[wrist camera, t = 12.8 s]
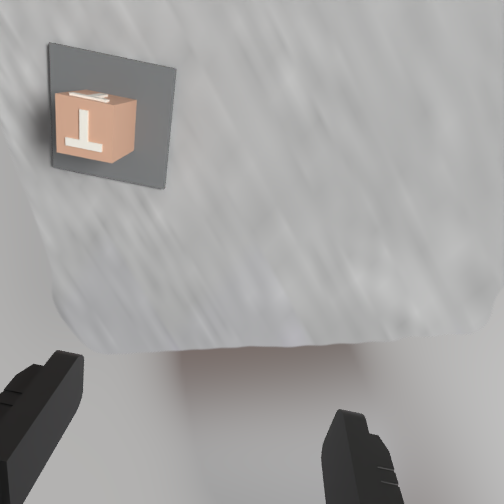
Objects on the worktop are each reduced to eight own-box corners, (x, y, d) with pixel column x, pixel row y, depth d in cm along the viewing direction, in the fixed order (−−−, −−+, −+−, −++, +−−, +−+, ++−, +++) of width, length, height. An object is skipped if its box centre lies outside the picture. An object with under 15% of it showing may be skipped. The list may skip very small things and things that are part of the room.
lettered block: (86, 87, 38) (53, 90, 33) (136, 97, 39) (112, 103, 33) (86, 140, 41) (55, 152, 35) (133, 150, 41) (111, 163, 35)
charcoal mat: (52, 42, 37) (48, 42, 37) (176, 68, 38) (174, 68, 37) (55, 165, 43) (52, 167, 42) (164, 187, 43) (163, 189, 42)
